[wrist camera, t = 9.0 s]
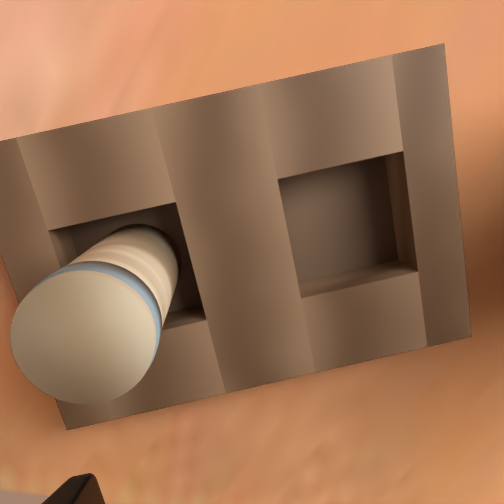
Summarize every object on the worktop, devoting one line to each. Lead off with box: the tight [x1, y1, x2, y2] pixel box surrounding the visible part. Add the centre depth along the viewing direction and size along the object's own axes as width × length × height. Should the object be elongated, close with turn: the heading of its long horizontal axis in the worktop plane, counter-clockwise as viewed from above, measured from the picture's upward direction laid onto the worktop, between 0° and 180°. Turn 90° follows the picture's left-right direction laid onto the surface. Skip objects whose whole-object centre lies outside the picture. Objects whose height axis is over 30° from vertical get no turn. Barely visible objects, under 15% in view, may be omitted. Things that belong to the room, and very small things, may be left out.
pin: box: [10, 223, 181, 404], centre depth 15 cm, size 4×4×8 cm
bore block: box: [0, 43, 472, 430], centre depth 18 cm, size 18×12×2 cm, turn 102°
